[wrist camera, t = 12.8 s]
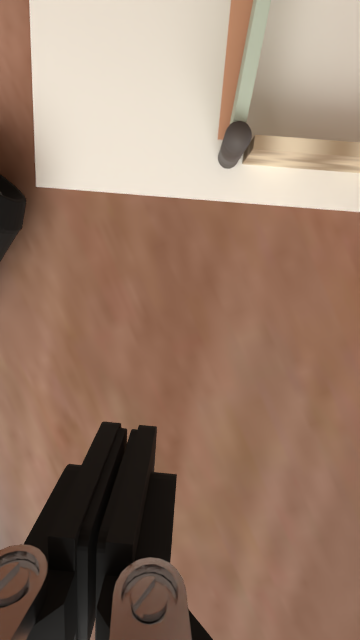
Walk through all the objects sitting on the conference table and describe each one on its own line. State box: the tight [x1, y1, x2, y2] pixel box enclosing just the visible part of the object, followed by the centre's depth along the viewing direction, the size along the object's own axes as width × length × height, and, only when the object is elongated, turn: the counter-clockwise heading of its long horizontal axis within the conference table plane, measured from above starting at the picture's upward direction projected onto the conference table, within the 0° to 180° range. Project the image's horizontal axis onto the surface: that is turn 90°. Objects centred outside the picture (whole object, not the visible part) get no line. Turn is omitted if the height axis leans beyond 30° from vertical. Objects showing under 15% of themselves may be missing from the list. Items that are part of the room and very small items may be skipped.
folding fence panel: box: [230, 0, 271, 124], centre depth 26 cm, size 18×2×6 cm, turn 170°
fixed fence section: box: [218, 121, 360, 173], centre depth 28 cm, size 16×2×8 cm, turn 86°
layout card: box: [29, 0, 360, 212], centre depth 30 cm, size 34×28×1 cm
